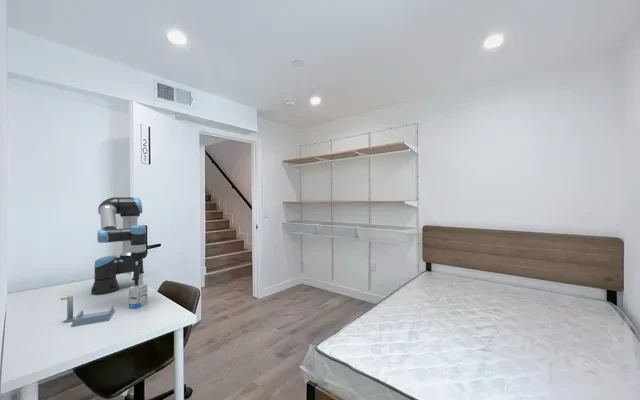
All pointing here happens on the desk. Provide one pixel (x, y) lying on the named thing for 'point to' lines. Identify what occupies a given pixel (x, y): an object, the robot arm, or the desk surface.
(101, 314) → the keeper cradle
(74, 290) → the desk surface
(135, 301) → the ink box
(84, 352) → the desk surface
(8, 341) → the desk surface
